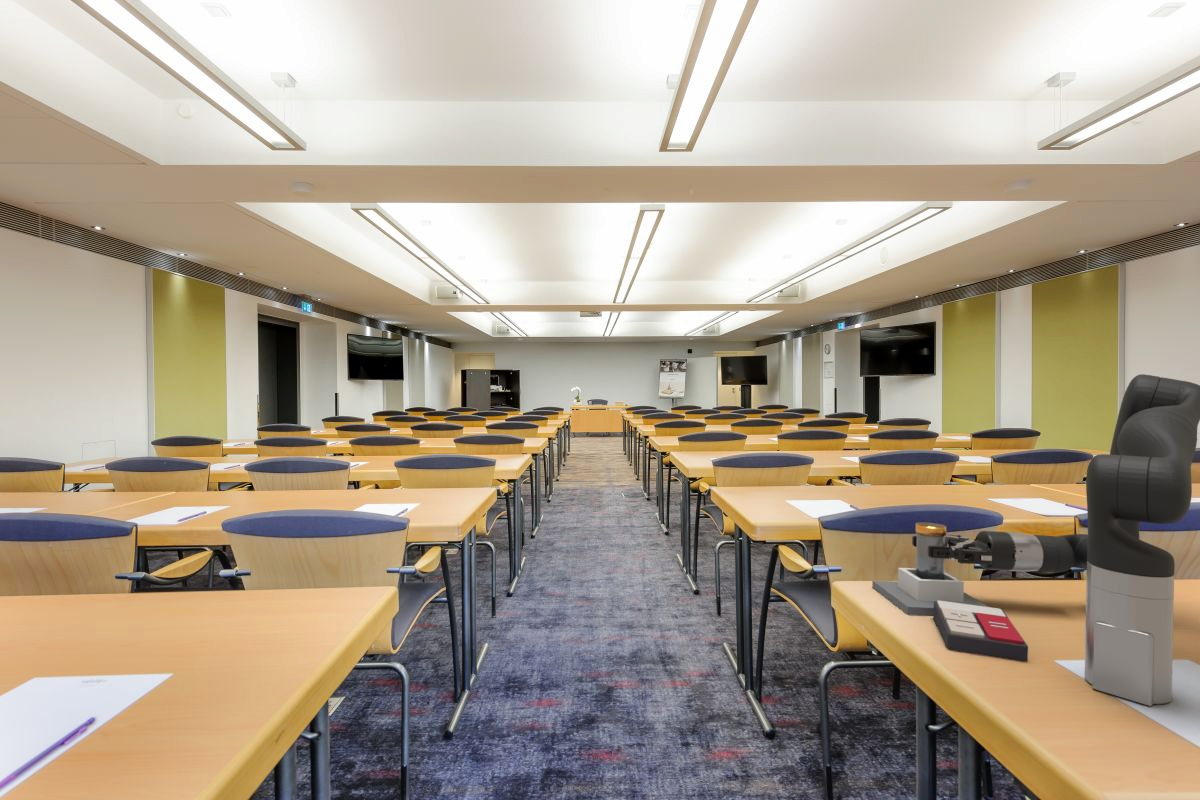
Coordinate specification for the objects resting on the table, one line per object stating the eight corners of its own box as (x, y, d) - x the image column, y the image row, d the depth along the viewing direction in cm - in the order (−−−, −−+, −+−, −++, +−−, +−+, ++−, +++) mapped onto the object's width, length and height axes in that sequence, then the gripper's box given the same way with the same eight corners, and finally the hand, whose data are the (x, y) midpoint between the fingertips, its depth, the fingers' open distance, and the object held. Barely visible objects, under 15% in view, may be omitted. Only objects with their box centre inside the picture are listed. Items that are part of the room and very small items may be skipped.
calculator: (948, 629, 94) (933, 596, 108) (947, 655, 95) (932, 619, 109) (1029, 642, 90) (1003, 605, 104) (1028, 668, 91) (1002, 629, 104)
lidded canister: (939, 600, 114) (940, 529, 114) (910, 593, 118) (911, 524, 118) (949, 595, 117) (950, 526, 117) (920, 588, 121) (922, 521, 121)
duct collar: (994, 618, 109) (995, 589, 109) (907, 614, 110) (908, 585, 110) (947, 590, 125) (948, 564, 125) (872, 587, 126) (872, 562, 126)
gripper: (990, 524, 122) (908, 520, 125) (1028, 540, 108) (934, 535, 111) (989, 560, 122) (907, 555, 125) (1027, 581, 108) (933, 574, 111)
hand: (920, 546), depth 118 cm, fingers open, 8 cm apart
